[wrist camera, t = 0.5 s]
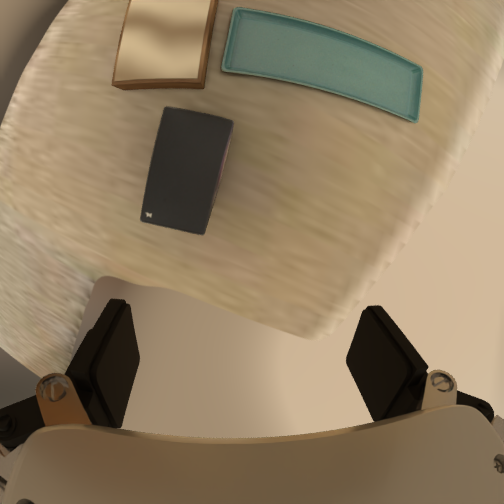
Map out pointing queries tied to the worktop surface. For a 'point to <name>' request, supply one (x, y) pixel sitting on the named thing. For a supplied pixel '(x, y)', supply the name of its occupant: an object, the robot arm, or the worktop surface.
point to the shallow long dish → (322, 60)
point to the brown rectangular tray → (164, 44)
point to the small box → (185, 169)
